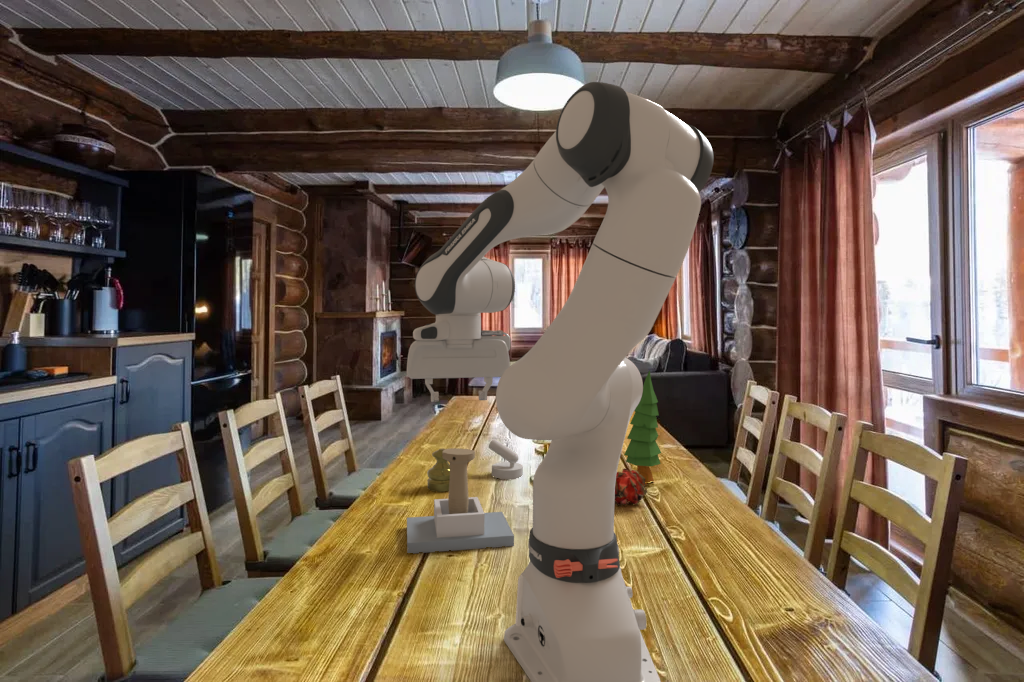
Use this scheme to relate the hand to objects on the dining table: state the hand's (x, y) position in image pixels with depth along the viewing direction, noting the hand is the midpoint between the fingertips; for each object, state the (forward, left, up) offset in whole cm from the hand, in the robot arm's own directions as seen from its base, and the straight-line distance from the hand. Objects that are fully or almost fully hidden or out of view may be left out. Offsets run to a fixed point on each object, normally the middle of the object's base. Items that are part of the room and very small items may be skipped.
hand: (459, 400), depth 107 cm
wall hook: (+41, -17, -27) cm, 52 cm away
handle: (0, 0, -25) cm, 25 cm away
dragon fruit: (+13, -41, -27) cm, 51 cm away
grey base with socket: (0, 0, -27) cm, 27 cm away
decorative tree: (+29, -52, -27) cm, 65 cm away
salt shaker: (+32, +1, -27) cm, 42 cm away
